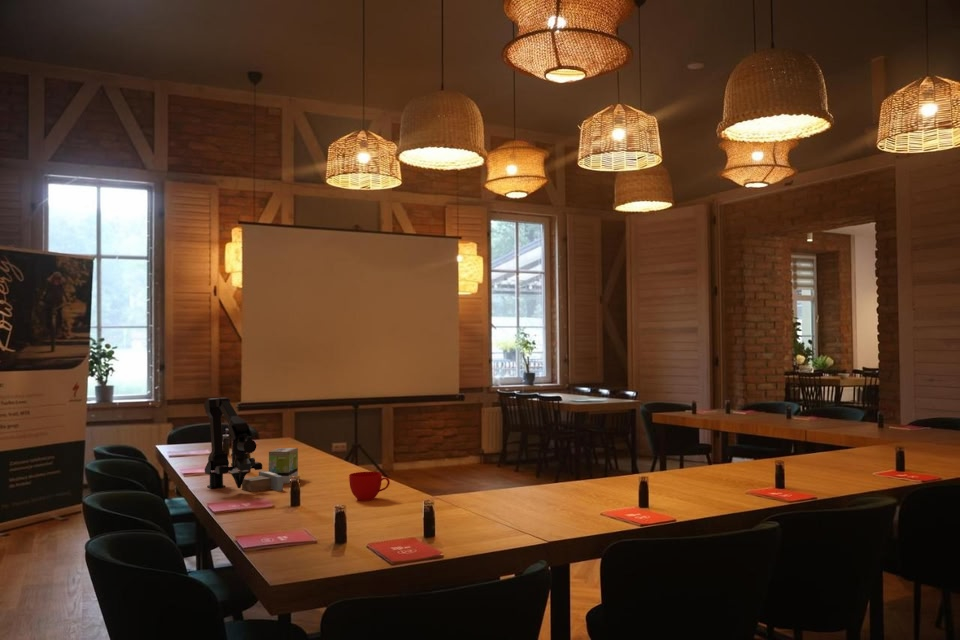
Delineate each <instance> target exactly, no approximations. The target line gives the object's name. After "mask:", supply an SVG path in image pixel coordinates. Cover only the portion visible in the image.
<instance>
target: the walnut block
mask: <svg viewBox="0 0 960 640" xmlns="http://www.w3.org/2000/svg"><path fill="white" fill-rule="evenodd" d="M242 489H243V491H246V490H247V492H250V491H251V492H250V493H253V491H254V492H260V491H259V490H261V491H266V490H265V489H268V490H272V489H271V478H268V477H263V476H259V475H258V476H252V477H251V476H250V477H244V479H243V482H242V485H241V490H242Z"/></svg>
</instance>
